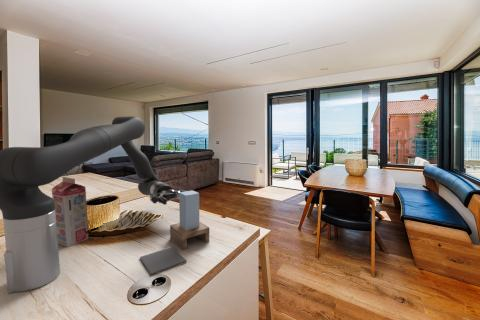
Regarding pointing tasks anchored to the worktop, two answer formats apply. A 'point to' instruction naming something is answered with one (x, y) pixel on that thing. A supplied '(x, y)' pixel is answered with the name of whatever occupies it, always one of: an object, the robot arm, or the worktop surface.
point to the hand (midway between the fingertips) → (176, 200)
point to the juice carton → (70, 212)
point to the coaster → (162, 260)
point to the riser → (188, 234)
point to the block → (189, 209)
